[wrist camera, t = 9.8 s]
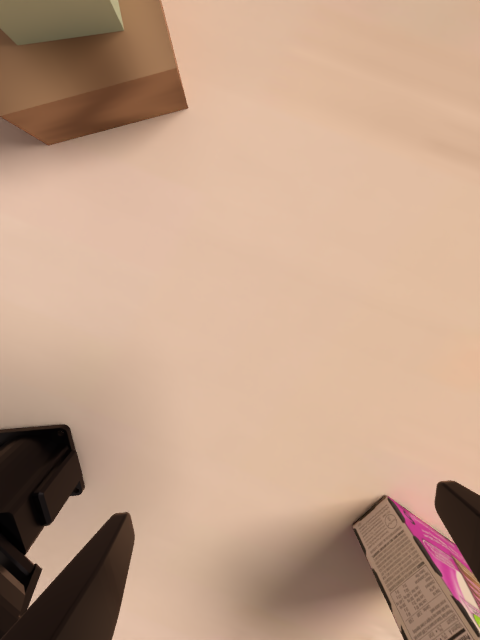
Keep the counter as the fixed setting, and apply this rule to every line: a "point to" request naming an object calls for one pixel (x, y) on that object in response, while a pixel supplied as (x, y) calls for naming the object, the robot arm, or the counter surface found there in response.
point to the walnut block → (92, 78)
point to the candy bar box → (420, 575)
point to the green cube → (58, 19)
